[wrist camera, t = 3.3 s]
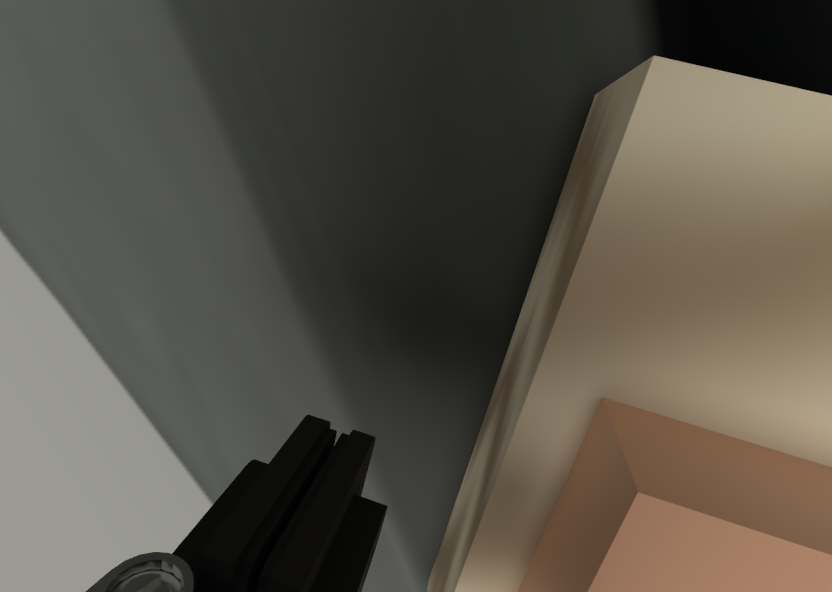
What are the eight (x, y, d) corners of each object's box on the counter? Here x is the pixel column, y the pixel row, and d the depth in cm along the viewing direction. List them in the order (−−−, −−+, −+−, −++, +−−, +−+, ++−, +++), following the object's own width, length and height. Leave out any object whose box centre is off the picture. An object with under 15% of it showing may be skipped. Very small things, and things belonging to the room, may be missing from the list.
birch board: (595, 94, 14) (654, 55, 8) (1210, 241, 12) (1823, 321, 6) (429, 578, 20) (397, 742, 15) (810, 717, 19) (940, 961, 13)
